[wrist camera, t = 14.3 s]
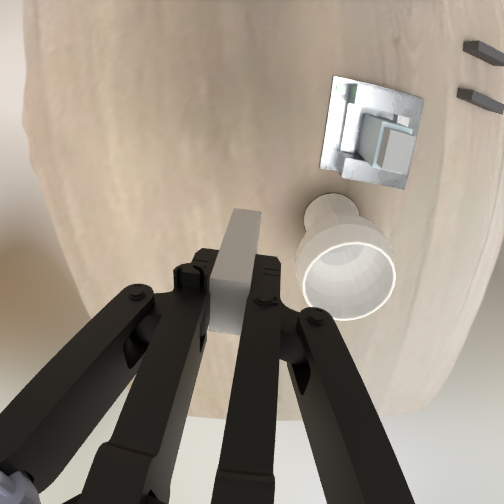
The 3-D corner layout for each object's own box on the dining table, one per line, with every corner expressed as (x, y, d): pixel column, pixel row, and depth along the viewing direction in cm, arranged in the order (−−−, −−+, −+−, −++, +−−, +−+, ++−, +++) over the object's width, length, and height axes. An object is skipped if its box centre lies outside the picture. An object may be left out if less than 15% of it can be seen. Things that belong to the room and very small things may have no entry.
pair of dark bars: (463, 41, 28) (479, 40, 25) (494, 56, 28) (510, 57, 24) (456, 97, 32) (471, 100, 29) (487, 110, 32) (502, 114, 29)
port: (333, 76, 34) (340, 75, 29) (422, 98, 33) (439, 102, 29) (319, 167, 40) (323, 179, 35) (404, 183, 39) (417, 196, 35)
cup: (336, 166, 39) (362, 213, 27) (383, 222, 43) (418, 286, 30) (276, 217, 44) (273, 282, 31) (325, 266, 47) (338, 339, 34)
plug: (363, 112, 35) (388, 123, 26) (389, 119, 35) (420, 132, 26) (356, 150, 38) (377, 172, 29) (381, 156, 38) (408, 180, 29)
